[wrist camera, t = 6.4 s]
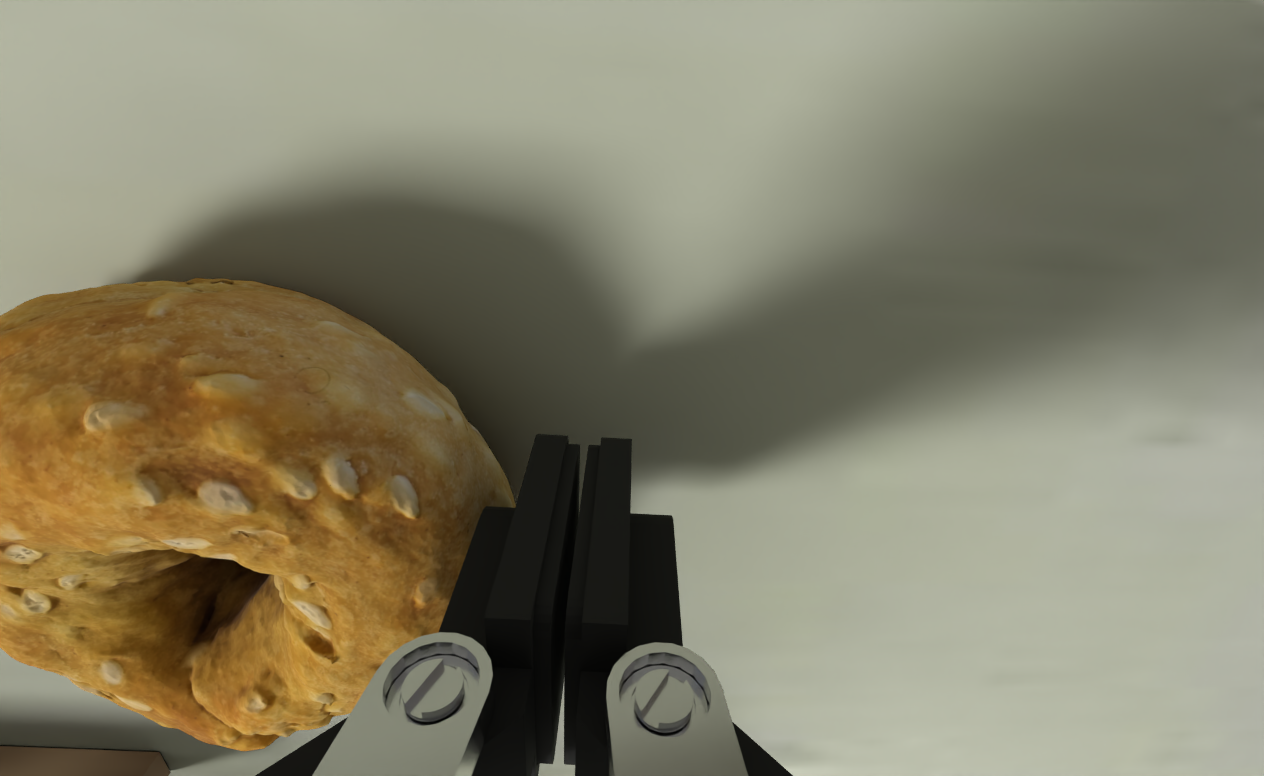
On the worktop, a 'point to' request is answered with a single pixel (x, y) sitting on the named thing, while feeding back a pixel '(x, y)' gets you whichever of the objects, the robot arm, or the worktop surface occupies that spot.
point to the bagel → (225, 501)
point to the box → (79, 762)
